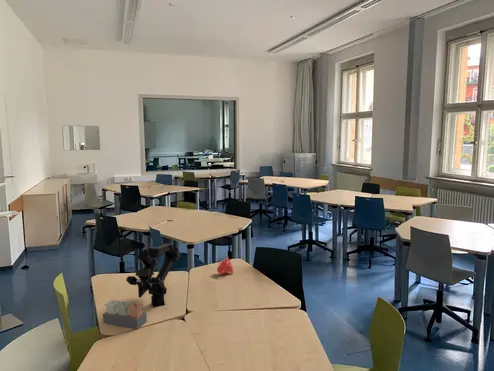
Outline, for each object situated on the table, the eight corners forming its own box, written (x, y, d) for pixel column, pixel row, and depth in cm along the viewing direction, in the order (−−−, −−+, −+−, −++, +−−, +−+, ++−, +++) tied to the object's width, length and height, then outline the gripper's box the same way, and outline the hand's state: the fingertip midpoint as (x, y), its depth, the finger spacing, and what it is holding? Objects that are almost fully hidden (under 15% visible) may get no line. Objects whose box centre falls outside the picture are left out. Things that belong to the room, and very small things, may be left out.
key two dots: (123, 313, 196) (122, 300, 195) (132, 315, 194) (131, 302, 193) (116, 318, 190) (115, 305, 190) (125, 320, 189) (125, 307, 188)
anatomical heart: (216, 277, 256) (213, 260, 256) (228, 272, 265) (225, 256, 265) (225, 277, 250) (222, 260, 250) (237, 272, 259) (234, 255, 259)
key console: (113, 316, 200) (112, 307, 199) (146, 321, 193) (146, 312, 192) (103, 323, 192) (102, 314, 192) (137, 329, 186) (136, 319, 185)
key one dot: (112, 312, 198) (111, 299, 197) (121, 313, 196) (120, 300, 195) (105, 316, 193) (104, 303, 192) (114, 318, 191) (113, 305, 190)
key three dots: (135, 315, 193) (134, 302, 193) (144, 317, 192) (143, 304, 191) (128, 320, 188) (127, 307, 187) (137, 322, 186) (136, 308, 185)
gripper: (126, 261, 198) (116, 289, 189) (159, 263, 194) (150, 292, 184) (135, 270, 207) (125, 298, 197) (166, 272, 202) (158, 300, 193)
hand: (139, 297), depth 193 cm, fingers closed
